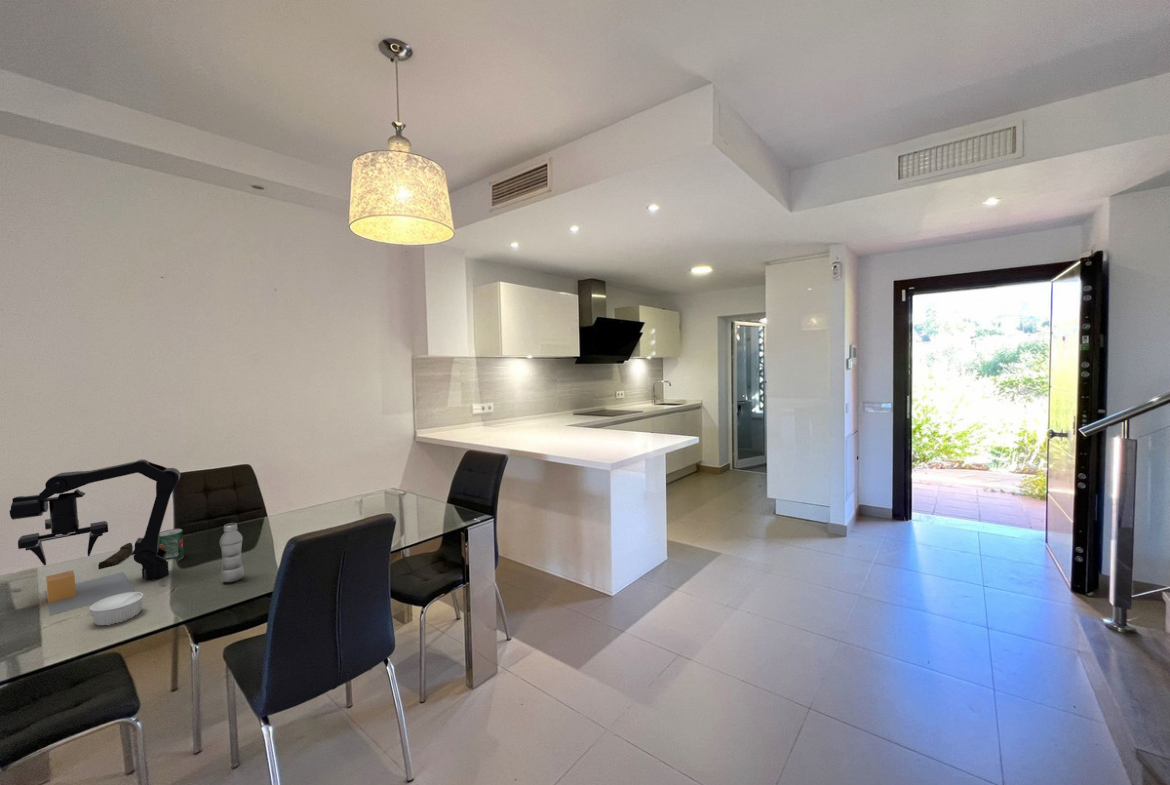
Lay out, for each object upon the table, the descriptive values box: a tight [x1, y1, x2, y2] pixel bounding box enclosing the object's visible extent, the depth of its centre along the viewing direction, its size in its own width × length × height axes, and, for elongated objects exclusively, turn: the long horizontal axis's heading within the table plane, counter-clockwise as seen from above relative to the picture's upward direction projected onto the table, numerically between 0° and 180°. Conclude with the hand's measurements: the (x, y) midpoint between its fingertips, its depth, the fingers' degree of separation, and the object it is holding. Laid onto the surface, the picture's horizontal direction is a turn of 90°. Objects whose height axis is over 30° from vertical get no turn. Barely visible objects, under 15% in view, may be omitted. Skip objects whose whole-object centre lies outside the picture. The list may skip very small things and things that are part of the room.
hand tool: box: [97, 542, 134, 570], centre depth 174 cm, size 19×4×5 cm, turn 21°
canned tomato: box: [159, 528, 185, 561], centre depth 175 cm, size 8×8×11 cm
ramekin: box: [88, 591, 145, 626], centre depth 134 cm, size 11×11×5 cm
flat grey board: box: [44, 571, 137, 616], centre depth 147 cm, size 24×18×2 cm
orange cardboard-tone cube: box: [45, 569, 76, 604], centre depth 143 cm, size 6×6×7 cm
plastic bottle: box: [219, 522, 245, 583], centre depth 157 cm, size 6×7×20 cm
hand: (67, 560), depth 144 cm, fingers open, 9 cm apart
